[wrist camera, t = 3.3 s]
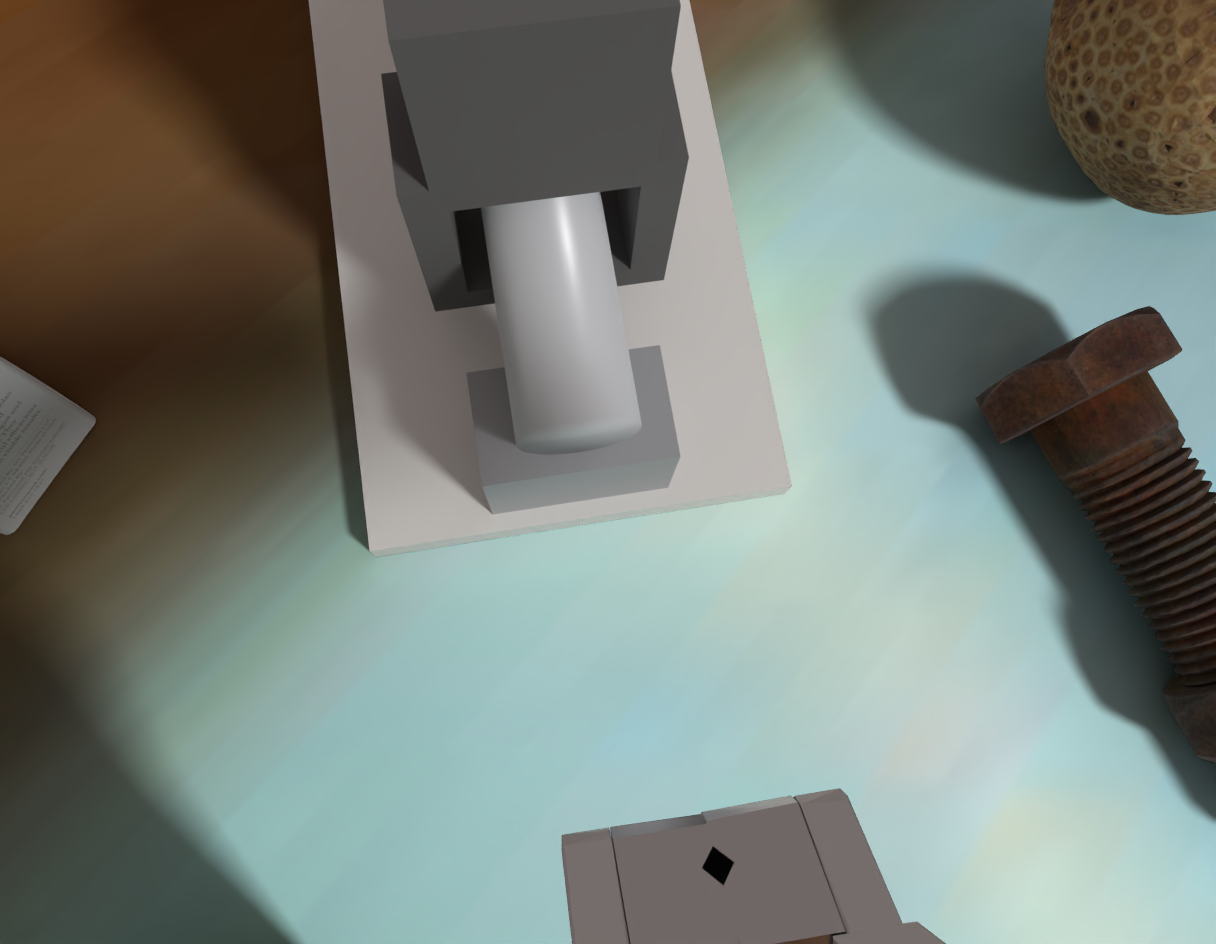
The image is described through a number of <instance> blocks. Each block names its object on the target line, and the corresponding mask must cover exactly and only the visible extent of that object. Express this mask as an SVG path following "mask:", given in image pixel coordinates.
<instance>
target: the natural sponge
mask: <svg viewBox="0 0 1216 944" xmlns="http://www.w3.org/2000/svg"><path fill="white" fill-rule="evenodd" d="M1045 81H1046V92H1047V101H1048V105H1049V109H1050V112H1051V116H1052V119H1053V121H1054V123H1055V125H1056V127H1057V129H1058V131H1059V133H1060V134H1061V136H1062V138H1063V140H1064V142H1065V143H1066V145H1067V147H1068V149H1069V151H1070V153H1071V154H1072V156H1073V157H1074V159H1075V160H1076V162H1077V163H1078V164H1079V166H1080V167H1081V169H1082V170H1083V172H1084V173H1085V175H1086V176H1087V177H1088V178H1089V179H1090V180H1091V181H1092V182H1093V183H1094V184H1095V185H1096V186H1097V187H1098V188H1099V189H1100V190H1101V191H1102V192H1104V193H1106V194H1107V195H1108V196H1110V197H1112V198H1114V199H1116V200H1118V201H1120V202H1121V203H1123V204H1125V205H1128V206H1130V207H1133V208H1135V209H1139V210H1143V211H1147V212H1151V213H1157V214H1165V215H1185V214H1194V213H1202V212H1209V211H1215V210H1216V0H1055V2H1054V6H1053V10H1052V14H1051V25H1050V31H1049V36H1048V42H1047V48H1046V55H1045Z"/></svg>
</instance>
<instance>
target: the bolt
mask: <svg viewBox="0 0 1216 944" xmlns="http://www.w3.org/2000/svg"><path fill="white" fill-rule="evenodd" d="M1181 351H1182V348H1181V346H1180V345H1179V343H1178V342H1177V340H1176V338H1175V337H1174V335H1173V334H1172V332H1171V330H1170V329H1169V327H1168V326H1167V324H1166V323H1165V321H1164V319H1163V318H1162V316H1161V315H1160V313H1159V312H1157V311H1156V310H1155V309H1154V308H1152V307H1150V306H1148V307H1144V308H1140V309H1137V310H1134V311H1132V312H1130V313H1127V314H1125V315H1123V316H1120V317H1118V318H1115V319H1113V320H1111V321H1108V322H1106V323H1104V324H1102V325H1100V326H1098V327H1096V328H1094V329H1093V330H1091V331H1089V332H1087V333H1085V334H1083V335H1081V336H1079V337H1077V338H1075V339H1074V340H1072V341H1070V342H1068V343H1066V344H1064V345H1062V346H1060V347H1059V348H1057V349H1055V350H1053V351H1051V352H1050V353H1048V354H1046V355H1044V356H1042V357H1040V358H1039V359H1037V360H1035V361H1033V362H1031V363H1030V364H1028V365H1026V366H1024V367H1022V368H1020V369H1018V370H1016V371H1014V372H1013V373H1011V374H1010V375H1008V376H1007V377H1005V378H1004V379H1002V380H1000V381H999V382H997V383H996V384H994V385H993V386H991V387H990V388H988V389H987V390H986V391H984V392H983V393H982V394H981V395H980V396H978V397H977V398H976V401H977V404H978V406H979V408H980V410H981V412H982V414H983V415H984V417H985V419H986V421H987V422H988V424H989V426H990V428H991V429H992V431H993V433H994V435H995V437H996V438H997V440H998V442H999V443H1006V442H1009V441H1011V440H1013V439H1015V438H1017V437H1019V436H1021V435H1023V434H1025V433H1027V432H1029V431H1031V433H1032V435H1033V436H1034V438H1035V440H1036V442H1037V443H1038V445H1039V447H1040V448H1041V450H1042V452H1043V453H1044V455H1045V457H1046V458H1047V460H1048V462H1049V464H1050V465H1051V467H1052V469H1053V470H1054V472H1055V474H1056V475H1057V477H1058V479H1059V480H1061V481H1063V482H1064V483H1065V484H1066V486H1067V488H1068V489H1070V490H1072V491H1074V494H1073V498H1074V499H1077V500H1081V501H1083V503H1082V504H1081V505H1080V506H1079V508H1080V510H1086V511H1090V513H1089V514H1088V515H1087V516H1086V517H1085V518H1086V520H1090V521H1096V523H1095V524H1094V526H1093V527H1092V528H1091V529H1092V531H1096V532H1102V534H1101V535H1100V536H1099V537H1098V538H1097V539H1098V541H1100V542H1105V543H1107V544H1106V546H1105V547H1104V551H1105V552H1106V553H1113V556H1112V557H1111V559H1110V561H1111V563H1113V564H1120V566H1119V568H1118V569H1117V571H1116V572H1117V574H1122V575H1127V577H1126V578H1125V579H1124V581H1123V584H1124V585H1130V586H1133V588H1132V589H1131V591H1130V592H1129V594H1130V595H1132V596H1136V597H1140V598H1139V599H1138V601H1137V602H1136V603H1135V604H1136V606H1137V607H1143V608H1146V609H1145V610H1144V612H1143V615H1142V616H1143V618H1149V619H1152V620H1151V622H1150V623H1149V625H1148V626H1149V627H1150V628H1151V629H1154V630H1158V632H1157V633H1156V635H1155V638H1156V639H1157V640H1160V641H1165V642H1164V644H1163V646H1162V650H1163V651H1168V652H1171V654H1170V656H1169V658H1168V661H1169V662H1174V663H1178V664H1177V666H1176V668H1175V672H1176V673H1178V674H1177V675H1176V676H1175V677H1173V678H1172V679H1171V680H1170V681H1169V682H1168V683H1167V684H1166V686H1165V688H1164V689H1163V695H1164V697H1165V699H1166V702H1167V704H1168V706H1169V708H1170V710H1171V712H1172V713H1173V715H1174V717H1175V719H1176V721H1177V722H1178V724H1179V726H1180V728H1181V729H1182V731H1183V733H1184V734H1185V736H1186V738H1187V740H1188V741H1189V743H1190V745H1191V746H1192V748H1193V750H1194V752H1195V753H1196V755H1197V756H1198V757H1200V758H1202V759H1205V760H1207V761H1211V762H1216V503H1215V502H1216V493H1215V492H1208V491H1209V489H1210V487H1211V485H1212V483H1211V481H1202V478H1203V476H1204V474H1205V473H1206V472H1205V470H1201V469H1197V470H1195V468H1196V466H1197V464H1198V462H1199V461H1198V460H1197V459H1196V458H1191V459H1188V457H1189V455H1190V454H1191V452H1192V449H1191V448H1182V446H1183V444H1184V442H1185V439H1184V437H1183V435H1182V434H1181V432H1180V430H1179V429H1178V420H1177V419H1176V417H1175V415H1174V414H1173V412H1172V410H1171V409H1170V407H1169V406H1168V404H1167V402H1166V401H1165V399H1164V397H1163V396H1162V394H1161V392H1160V391H1159V389H1158V388H1157V386H1156V384H1155V383H1154V381H1153V379H1152V378H1151V376H1150V374H1149V373H1148V371H1149V370H1151V369H1153V368H1155V367H1156V366H1158V365H1160V364H1162V363H1164V362H1166V361H1168V360H1170V359H1171V358H1173V357H1174V356H1176V355H1177V354H1178V353H1180V352H1181Z"/></svg>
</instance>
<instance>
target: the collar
mask: <svg viewBox="0 0 1216 944" xmlns="http://www.w3.org/2000/svg"><path fill="white" fill-rule="evenodd" d="M383 4H384V11H385V19H386V27H387V34H388V41H389V45H390V49H391V52H392V56H393V60H394V64H395V67H396V71H397V72H391V73H383V74H381V78H382V86H383V94H384V102H385V109H386V117H387V125H388V133H389V141H390V149H391V156H392V164H393V172H394V180H395V188H396V196H397V199H398V202H399V205H400V207H401V210H402V213H403V216H404V219H405V222H406V225H407V228H408V231H409V234H410V237H411V240H412V243H413V246H414V249H415V252H416V255H417V258H418V261H419V264H420V267H421V270H422V273H423V276H424V279H425V282H426V285H427V288H428V291H429V294H430V297H431V300H432V303H433V306H434V309H435V312H437V311H444V310H451V309H459V308H466V307H473V306H480V305H487V304H495V300H494V293H493V286H492V279H491V273H490V266H489V259H488V252H487V246H486V239H485V232H484V225H483V219H482V212H481V207H489V206H497V205H504V204H512V203H519V202H527V201H534V200H542V199H550V198H557V197H565V196H572V195H580V194H588V193H595V192H600V193H601V199H602V204H603V210H604V215H605V221H606V227H607V232H608V238H609V243H610V249H611V255H612V260H613V266H614V271H615V277H616V283H617V286H624V285H632V284H639V283H646V282H653V281H660V280H664V277H665V272H666V267H667V262H668V257H669V253H670V248H671V243H672V238H673V233H674V228H675V223H676V218H677V213H678V209H679V204H680V199H681V194H682V189H683V184H684V179H685V174H686V169H687V165H688V160H689V155H688V150H687V145H686V140H685V135H684V130H683V125H682V120H681V115H680V110H679V105H678V101H677V96H676V91H675V86H674V81H673V76H672V71H671V69H672V62H673V55H674V49H675V42H676V35H677V29H678V22H679V15H680V9H681V4H680V0H383Z"/></svg>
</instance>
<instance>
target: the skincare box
mask: <svg viewBox="0 0 1216 944" xmlns="http://www.w3.org/2000/svg"><path fill="white" fill-rule="evenodd" d="M95 423H96V419H95V417H94V416H93V415H92V414H90V413H89V412H87V411H86V410H84V409H83V408H81V407H80V406H78V405H77V404H75V403H74V402H72V401H71V400H69V399H67V398H66V397H64V396H63V395H61V394H60V393H58V392H57V391H55V390H54V389H52V388H51V387H49V386H47V385H46V384H44V383H43V382H41V381H40V380H38V379H37V378H35V377H33V376H32V375H30V374H28V373H27V372H25V371H24V370H22V369H20V368H19V367H17V366H15V365H14V364H12V363H10V362H9V361H7V360H6V359H4V358H2V357H1V356H0V533H1V534H4V535H9V534H11V533H13V532H15V531H16V530H17V529H18V527H19V526H20V525H21V523H22V522H23V520H24V519H25V518H26V516H27V515H28V513H29V512H30V511H31V509H32V508H33V506H34V505H35V504H36V502H37V501H38V500H39V498H40V497H41V496H42V494H43V493H44V492H45V490H46V489H47V487H48V486H49V485H50V483H51V482H52V481H53V479H54V478H55V477H56V475H57V474H58V473H59V471H60V470H61V468H62V467H63V466H64V464H65V463H66V462H67V460H68V459H69V458H70V456H71V455H72V454H73V452H74V451H75V450H76V449H77V447H78V446H79V445H80V443H81V442H82V441H83V439H84V438H85V436H86V435H87V434H88V432H89V431H90V430H91V429H92V427H93V426H94V424H95Z"/></svg>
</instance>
